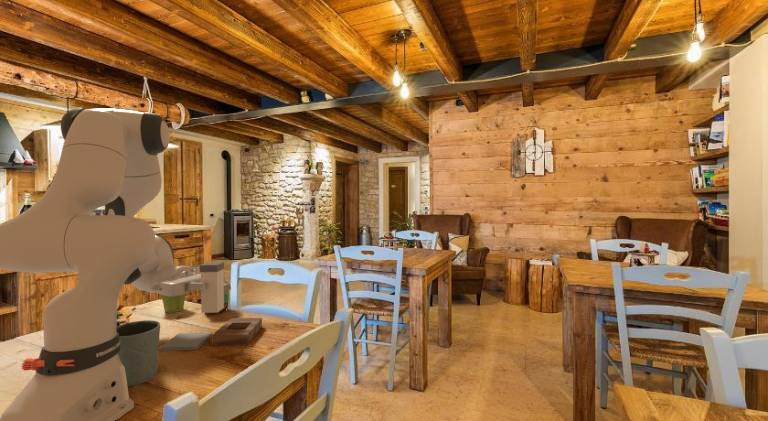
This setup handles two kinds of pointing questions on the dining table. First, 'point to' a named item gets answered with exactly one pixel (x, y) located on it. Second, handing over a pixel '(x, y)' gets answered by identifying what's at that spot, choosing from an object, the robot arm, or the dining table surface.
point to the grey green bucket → (139, 350)
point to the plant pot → (173, 303)
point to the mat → (186, 341)
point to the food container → (226, 297)
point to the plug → (212, 287)
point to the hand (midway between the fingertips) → (214, 283)
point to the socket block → (237, 331)
